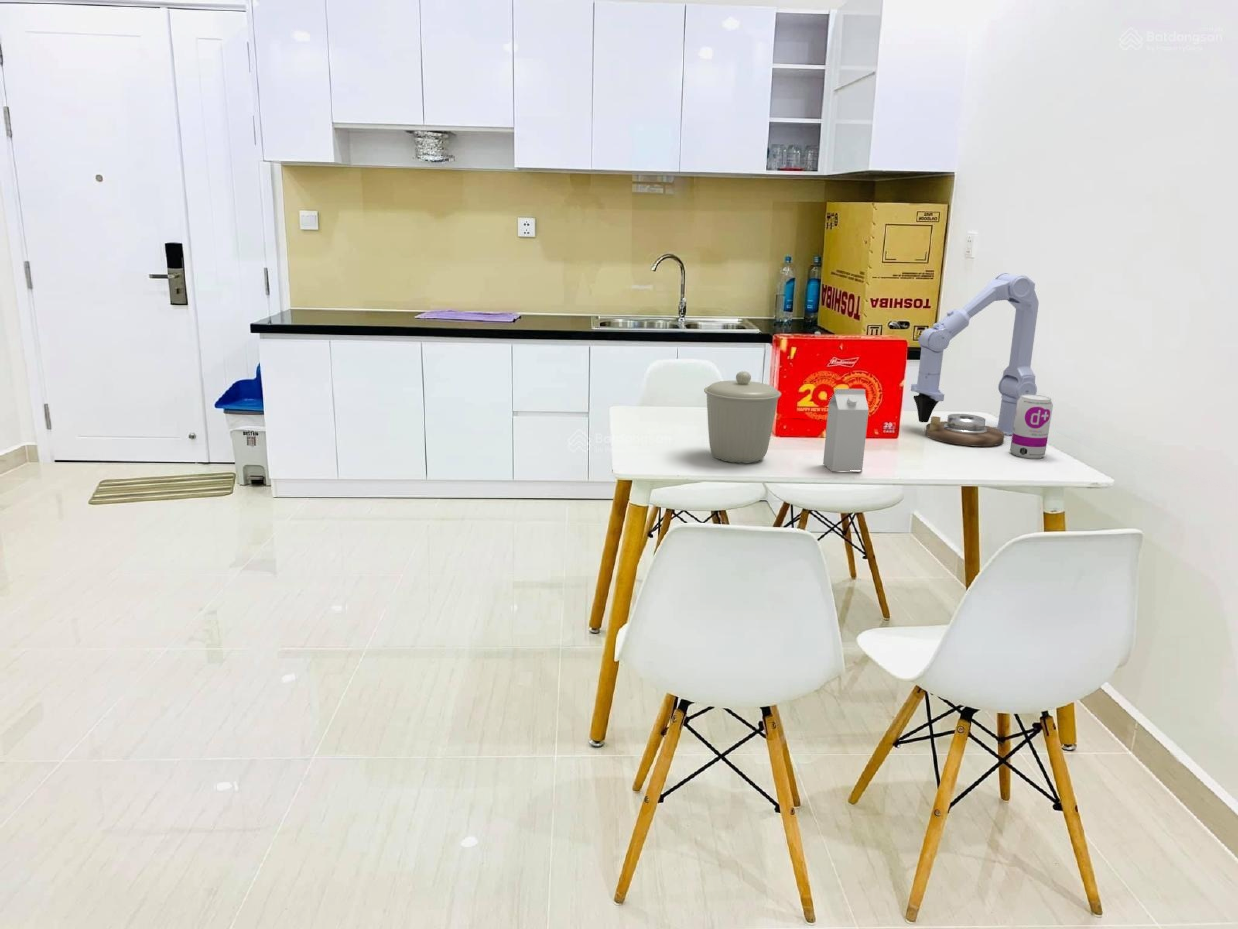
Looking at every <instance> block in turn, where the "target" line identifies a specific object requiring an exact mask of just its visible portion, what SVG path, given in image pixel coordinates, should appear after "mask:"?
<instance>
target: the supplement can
mask: <svg viewBox="0 0 1238 929" xmlns="http://www.w3.org/2000/svg"><path fill="white" fill-rule="evenodd" d="M1053 408H1054V404H1053V401H1052V398H1051V397H1050V396H1045V395H1040V394H1036V395H1031V394H1025V395H1021V397H1020V398H1019V400H1018V401H1017V407H1016V414H1015V420H1014V427H1013V434H1012V435H1011V440H1010V441H1011V442H1010V447H1009V451H1010V452H1011V454H1012V455H1013V456H1015V455H1016V457H1018V456H1020V457H1019V458H1022V459H1023V458H1024V459H1031V460H1032V459H1036V460H1037V459H1041V458H1042V457H1044V456H1045V455H1046V451H1047V444H1048V438H1049V431H1050V427H1051V426H1050V425H1051V420H1052V414H1053Z"/></svg>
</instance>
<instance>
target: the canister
mask: <svg viewBox="0 0 1238 929" xmlns="http://www.w3.org/2000/svg"><path fill="white" fill-rule="evenodd" d="M751 379H752V375H751V374H750V373H749V372H747V371H739V372H738V373H737V374H736V375H735V380H723V381H716V382H714V383H711V384H710V385H709V386H706V387H704V388H703V390H704V393H705V394H706V410H707V428H708V429H707V430H708V441H709V442H708V444H709V449H710V452H711V455H713V457H714V458H716V459H718V460H720V459H721V461H723V460H724V462H727V461H729V463H734V462H752V463H756V461H757V462H759V460H760V461H762V460H763V459H764V457H766V455H767V452H768V450H769V446H770V441H771V436H772V433H773V432H772V431H773V428H774V427H773V426H774V420H775V416H776V411H777V407H778V406H777V405H778V400H779V398H780V397H782V392H781V391H780V390H777V388H775V387H774V386H772V385H770V384H768V383H763V382H760V381H759V382H758V381H753V380H751Z"/></svg>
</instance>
